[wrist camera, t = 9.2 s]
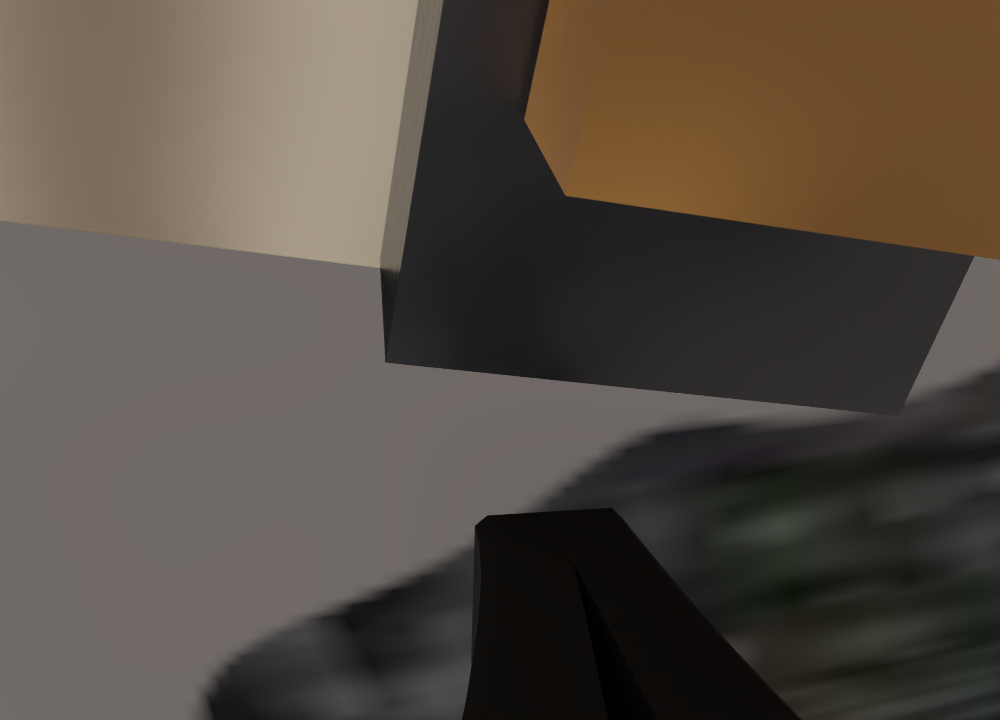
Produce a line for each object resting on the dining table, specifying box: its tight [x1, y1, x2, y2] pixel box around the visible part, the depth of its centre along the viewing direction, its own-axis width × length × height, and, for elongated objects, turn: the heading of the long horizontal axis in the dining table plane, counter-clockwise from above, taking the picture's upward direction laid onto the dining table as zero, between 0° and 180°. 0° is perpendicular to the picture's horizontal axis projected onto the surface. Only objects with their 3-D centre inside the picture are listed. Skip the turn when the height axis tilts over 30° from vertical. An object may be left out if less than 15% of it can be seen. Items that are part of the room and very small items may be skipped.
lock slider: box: [524, 0, 1000, 260], centre depth 7 cm, size 4×2×2 cm, turn 78°
